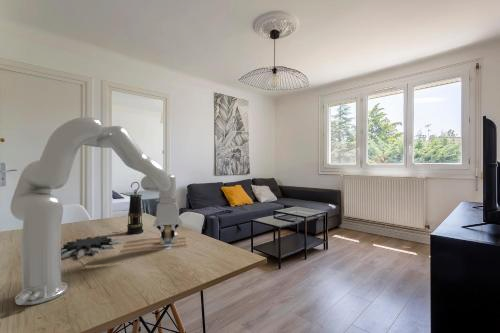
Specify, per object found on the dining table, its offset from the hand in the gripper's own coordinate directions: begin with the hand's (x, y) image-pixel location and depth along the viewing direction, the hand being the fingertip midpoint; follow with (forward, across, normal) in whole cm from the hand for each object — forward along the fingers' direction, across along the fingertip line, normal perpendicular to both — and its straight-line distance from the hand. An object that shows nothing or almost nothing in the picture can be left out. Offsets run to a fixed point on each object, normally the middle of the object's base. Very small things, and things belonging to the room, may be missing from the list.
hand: (167, 238), depth 121 cm
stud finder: (+4, 0, +6) cm, 7 cm away
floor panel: (+5, -6, +6) cm, 10 cm away
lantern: (+5, -20, +36) cm, 41 cm away
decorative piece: (+5, -36, +11) cm, 39 cm away
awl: (+2, 0, 0) cm, 2 cm away
